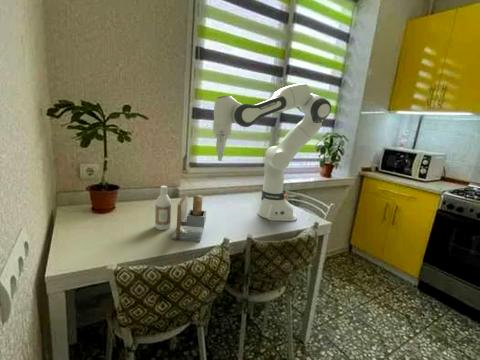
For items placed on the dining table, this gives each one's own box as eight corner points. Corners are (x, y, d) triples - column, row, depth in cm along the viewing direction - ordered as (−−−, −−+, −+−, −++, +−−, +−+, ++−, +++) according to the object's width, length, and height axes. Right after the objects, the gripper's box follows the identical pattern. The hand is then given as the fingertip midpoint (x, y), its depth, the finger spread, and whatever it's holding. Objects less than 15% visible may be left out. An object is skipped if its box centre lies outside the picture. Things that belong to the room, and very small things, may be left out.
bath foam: (154, 230, 128) (155, 188, 123) (155, 224, 134) (156, 184, 129) (170, 230, 129) (171, 188, 124) (170, 224, 136) (171, 184, 131)
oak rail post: (201, 219, 129) (203, 195, 126) (200, 223, 125) (202, 198, 122) (192, 219, 129) (194, 194, 126) (191, 222, 125) (192, 197, 122)
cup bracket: (205, 227, 136) (207, 195, 132) (201, 242, 121) (204, 207, 117) (179, 225, 136) (180, 193, 132) (172, 239, 120) (173, 204, 116)
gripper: (228, 132, 125) (226, 163, 128) (229, 129, 145) (227, 156, 148) (213, 131, 125) (212, 162, 128) (216, 128, 144) (215, 155, 148)
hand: (220, 158), depth 138 cm, fingers open, 8 cm apart
